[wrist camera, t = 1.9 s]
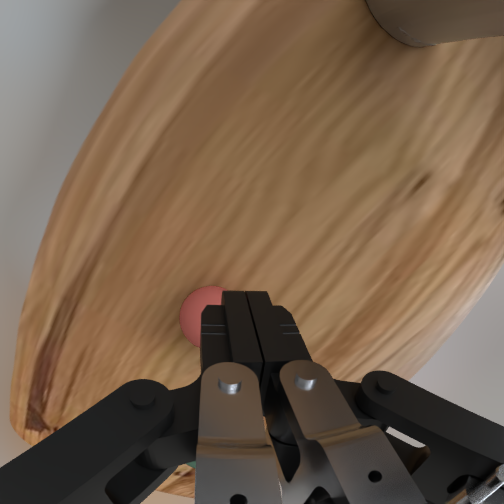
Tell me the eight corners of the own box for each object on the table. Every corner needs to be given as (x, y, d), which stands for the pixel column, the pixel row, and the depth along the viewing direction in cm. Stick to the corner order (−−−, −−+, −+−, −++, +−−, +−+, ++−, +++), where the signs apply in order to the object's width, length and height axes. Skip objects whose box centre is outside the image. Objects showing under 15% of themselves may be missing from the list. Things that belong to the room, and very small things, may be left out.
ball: (181, 273, 27) (177, 308, 22) (243, 275, 28) (252, 310, 23) (181, 323, 29) (178, 362, 24) (237, 325, 30) (244, 363, 25)
